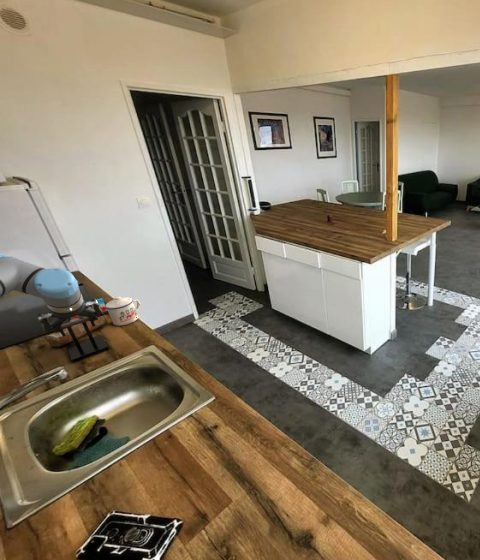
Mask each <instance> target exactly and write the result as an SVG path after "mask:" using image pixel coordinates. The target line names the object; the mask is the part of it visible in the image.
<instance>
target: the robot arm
mask: <svg viewBox="0 0 480 560" xmlns="http://www.w3.org/2000/svg"><path fill="white" fill-rule="evenodd" d="M13 291H15V292H16V291H17V292H19V293H22V294H26V295H30V296H33V297H36V298H40V299H42V300H43V302H44V303H45V305H46V306H47V309H48V310H49V312H48V313H45V314H43V313H39V314H36V317H37V319H38V321H39V323H40V324H41V327H42V330H43V331H44V333H45V334H47V333H48V334H49V333H50V332H51V331H53V333H58V332H60V333H61V334H62V336H66V335H65V333H64V331H63V330H64V329H62V328H61V325H62V324H64V321H66V320H68V319H71V317H75V316H77V315H79V316H86V317H89V319H90V322H91V324H92V326H93V327H94V326H95V323H94V321H96V320H98V317H103V316H104V315H105V313H104V312H102V310H101V308H100V307H99V304H98V302H97V298H93V299H91V300H90V301H91V302H89V301H85V300H84V297H83V295H82V292H81V290H80V287H79V281H78V280H77V278H75V276H74V274H73V273H71V271H68V270H67V269H64V268H57V267H56V268H52V267H51V268H45V267H42V266H38V265H37V264H32V263H31V262H28V261H24V260H21V259H19V258H17V257H14V256H9V255H7V254H6V255H5V254H2V253H0V298H2V297H3V296H5V295H8V294H9V293H11V292H13ZM86 302H88V303H86ZM88 306H89V307H92V309H94V310H95V312H94V311H92V310H90V309H87V308H88ZM51 318H53V319H52V321H50V319H51Z"/></svg>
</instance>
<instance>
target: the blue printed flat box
mask: <svg viewBox="0 0 480 560" xmlns="http://www.w3.org/2000/svg"><path fill="white" fill-rule="evenodd" d="M96 300H97V302H98V304H99V307H100V308H101V310H102V312H103V313H106V312H108V310H107V309H106V304H105V301H104V298H103V297H102V298H96ZM85 302H86V303H88V302H91V300H89V301H85ZM87 309H90V310H92V311H94V312H95V310H94V309H92V307H89V306H88V308H87ZM83 317H86V316H83ZM76 318H78V319H80V318H79V316H78V315H77V316H75V317H71V318H70V320H73V319H76Z"/></svg>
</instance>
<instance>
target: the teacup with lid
mask: <svg viewBox="0 0 480 560" xmlns="http://www.w3.org/2000/svg"><path fill="white" fill-rule="evenodd" d="M135 302H136V304H137V305H136V306H135V304H134V303H135ZM105 305H106V309H107V312H108V315H109V317H110V319H111V321H112V324H113V325H114V326H118V327H119V326H127V325H130V324H132V323H134V322H136V321H137V320H138V319H139V315H138V310H139V309H140V308H141V302H140V300H139V299H133V298H131V297H127V296H126V297H125V296H124V297H121V296H119V295H118V296H117V295H116V296H114V298H113V299H112V300H110V301H108V302H107V303H106V304H105ZM136 317H137V318H136Z"/></svg>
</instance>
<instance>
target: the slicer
mask: <svg viewBox="0 0 480 560" xmlns="http://www.w3.org/2000/svg"><path fill="white" fill-rule="evenodd" d="M78 316H79V315H78ZM79 318H80V319H82V318H85V317H83V316H79ZM69 322H70V321H69V320H68V319H67V320H66V321H64V322H63V324H66V323H69ZM82 325H83V327H84V329H85V331H86V333H87V334H86V335H87V337H88V338H85V339H83V340H80V341H79V339H77V338H76V336H75V334H74V332H73V330H72V328H71V327H72V326H71V327H67V328H66V329H68V331H69V333H70V335H71V337H72V339H73V341H72V342H73V343H70V344H67V345H66V346H65V347H66V349H67V351H68V354H69V357H70V359H71V361H72V363H76V362H79V361H81V360H84V359H88V358H89V357H93V356H95V355H98V354H100V353H103V352H105V351H108V350H110V348H109V346H108V344H107V342H106V341H105V339H104V338H103V336H102V335H101V333H100V334H98V335H95V336H93V334H92V331H91V332H90V330H89V328H88V326H87V324H86V322H84V323H82Z"/></svg>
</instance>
